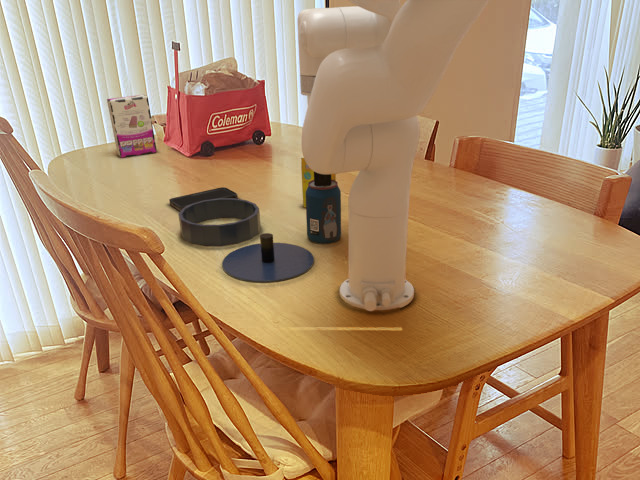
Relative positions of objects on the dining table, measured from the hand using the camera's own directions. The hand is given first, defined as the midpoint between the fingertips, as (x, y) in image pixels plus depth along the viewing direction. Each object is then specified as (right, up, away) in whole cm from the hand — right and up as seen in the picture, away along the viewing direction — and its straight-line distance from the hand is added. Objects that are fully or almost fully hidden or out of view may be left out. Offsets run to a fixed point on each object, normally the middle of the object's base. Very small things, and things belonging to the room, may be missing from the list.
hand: (324, 178), depth 121 cm
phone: (-29, +1, +30) cm, 41 cm away
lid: (-11, -17, -3) cm, 20 cm away
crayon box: (-1, -1, +25) cm, 25 cm away
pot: (-22, -9, +12) cm, 26 cm away
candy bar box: (-56, +23, +70) cm, 92 cm away
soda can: (0, -11, +7) cm, 13 cm away
